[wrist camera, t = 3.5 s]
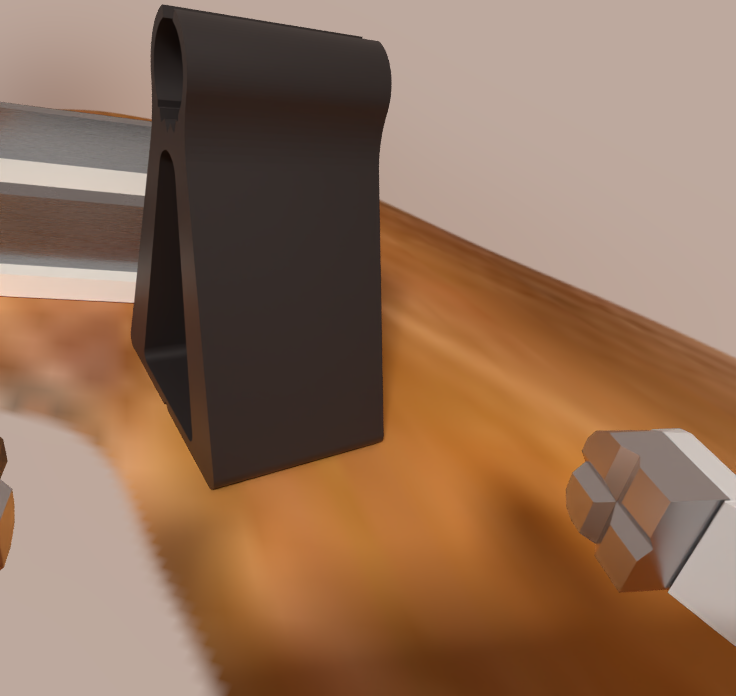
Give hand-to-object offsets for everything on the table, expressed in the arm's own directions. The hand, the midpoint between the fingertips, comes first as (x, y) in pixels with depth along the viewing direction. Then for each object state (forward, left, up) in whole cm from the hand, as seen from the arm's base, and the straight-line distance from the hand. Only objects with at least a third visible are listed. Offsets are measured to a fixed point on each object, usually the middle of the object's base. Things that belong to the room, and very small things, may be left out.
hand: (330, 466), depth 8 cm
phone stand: (0, +12, -7) cm, 14 cm away
